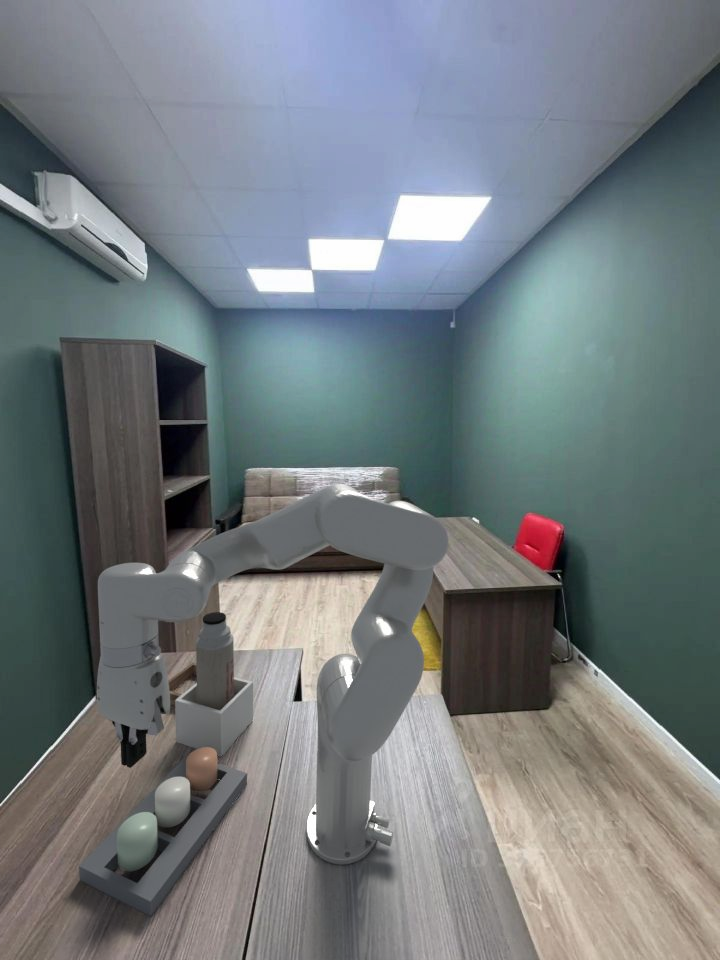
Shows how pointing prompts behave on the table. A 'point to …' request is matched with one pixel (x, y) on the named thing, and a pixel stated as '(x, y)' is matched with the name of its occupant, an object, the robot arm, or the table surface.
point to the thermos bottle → (215, 662)
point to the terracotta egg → (201, 768)
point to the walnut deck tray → (180, 681)
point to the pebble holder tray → (163, 844)
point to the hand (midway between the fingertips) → (134, 759)
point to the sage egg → (137, 841)
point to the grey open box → (213, 718)
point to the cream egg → (172, 801)
